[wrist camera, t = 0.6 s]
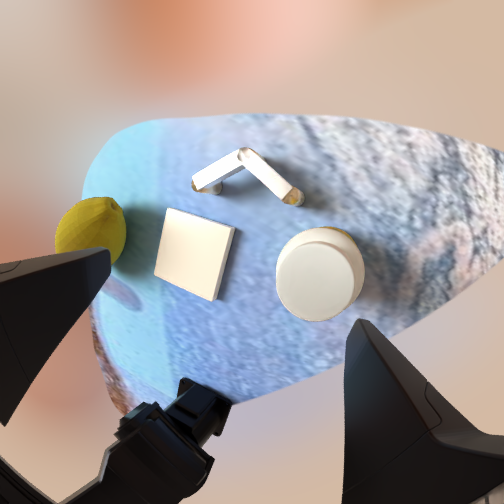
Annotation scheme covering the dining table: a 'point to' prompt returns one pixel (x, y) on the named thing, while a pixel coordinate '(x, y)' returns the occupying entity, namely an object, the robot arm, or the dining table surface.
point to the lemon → (92, 227)
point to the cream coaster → (193, 252)
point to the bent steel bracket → (254, 162)
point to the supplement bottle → (319, 273)
